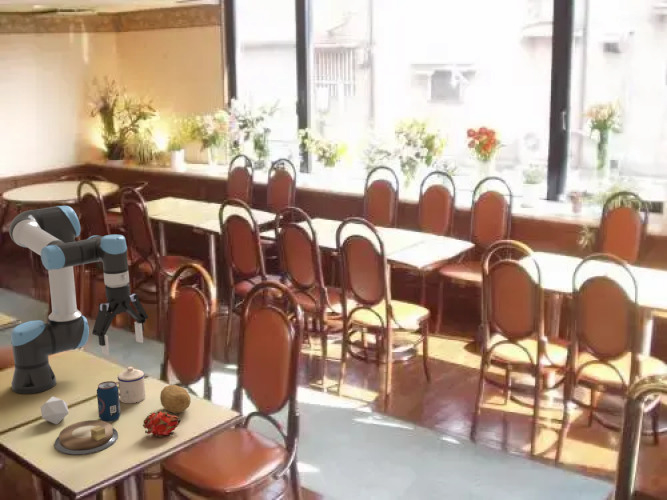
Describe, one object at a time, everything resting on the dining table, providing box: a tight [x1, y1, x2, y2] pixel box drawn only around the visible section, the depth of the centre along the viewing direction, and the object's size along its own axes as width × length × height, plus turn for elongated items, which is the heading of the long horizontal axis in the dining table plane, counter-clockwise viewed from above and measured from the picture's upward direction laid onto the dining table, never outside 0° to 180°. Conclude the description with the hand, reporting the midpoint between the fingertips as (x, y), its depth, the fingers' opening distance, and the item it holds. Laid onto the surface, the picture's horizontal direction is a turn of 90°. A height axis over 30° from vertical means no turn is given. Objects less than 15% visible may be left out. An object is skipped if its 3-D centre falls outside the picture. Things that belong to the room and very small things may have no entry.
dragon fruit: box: [142, 410, 181, 439], centre depth 256 cm, size 8×8×12 cm
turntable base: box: [54, 427, 119, 456], centre depth 253 cm, size 19×19×1 cm
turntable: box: [58, 419, 113, 450], centre depth 253 cm, size 16×16×5 cm
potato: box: [159, 384, 191, 414], centre depth 272 cm, size 10×14×8 cm
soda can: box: [96, 380, 122, 423], centre depth 267 cm, size 7×7×12 cm
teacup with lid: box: [114, 366, 146, 404], centre depth 281 cm, size 12×9×12 cm
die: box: [40, 395, 69, 425], centre depth 266 cm, size 8×9×10 cm
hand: (123, 348), depth 259 cm, fingers open, 13 cm apart
